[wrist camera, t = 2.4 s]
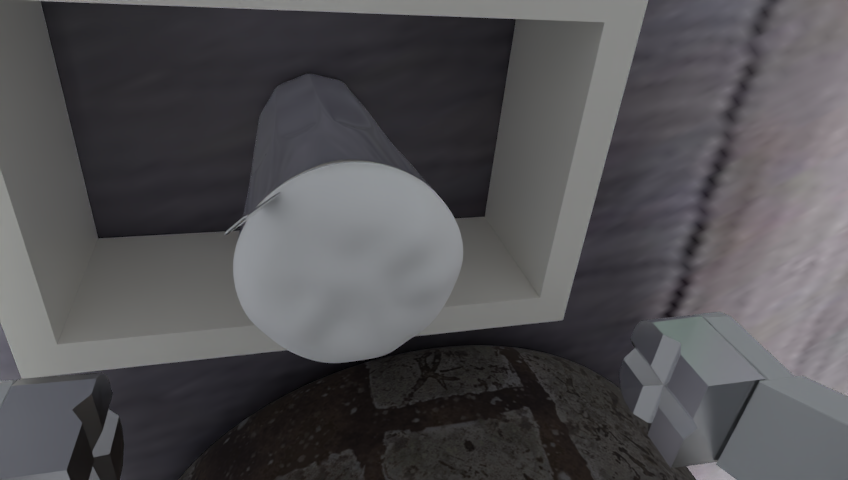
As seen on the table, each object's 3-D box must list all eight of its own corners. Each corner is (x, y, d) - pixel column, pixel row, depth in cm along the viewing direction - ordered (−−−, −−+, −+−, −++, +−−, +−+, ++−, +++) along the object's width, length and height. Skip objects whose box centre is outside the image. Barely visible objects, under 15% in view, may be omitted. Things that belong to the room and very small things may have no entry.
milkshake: (300, -7, 16) (356, 122, 8) (412, 129, 19) (536, 325, 11) (181, 98, 17) (123, 317, 9) (308, 214, 20) (353, 457, 12)
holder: (70, 266, 19) (21, 379, 15) (-31, -92, 13) (-150, -72, 9) (505, 237, 23) (562, 320, 18) (558, -49, 17) (654, -22, 13)
